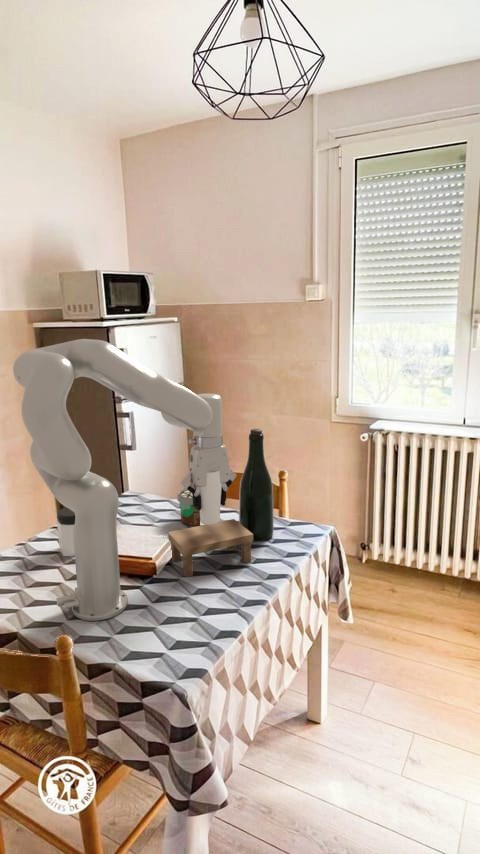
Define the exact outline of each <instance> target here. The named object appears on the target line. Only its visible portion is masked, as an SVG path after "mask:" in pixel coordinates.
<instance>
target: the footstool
mask: <svg viewBox="0 0 480 854" xmlns="http://www.w3.org/2000/svg"><path fill="white" fill-rule="evenodd" d="M167 540H168V541H169V542H170V551H171V550H172V560H171V562H172V563H174V562H175V563H178V561H179V562H182V574H183V576H184V577H185V578H188V577H193V576H194V570H193V569H194V566H193V565H194V564H193V562H194V561H193V556H194V555H200V554H203V553H207V552H211V551H215V550H216V551H217V550H220V549H225V548H228V549H229V550H235V549H237V546H238V545H240V559H241V561H242V562H243V563H244V564H245V563H249V562H251V561H252V542H254V541H253V534H252V533H251V532H250V531H249V530H247V529H246V528H245V527H243V526H242V525H241V524H240V523H239V521H238V520H236V519H235V518H232V519H226V520H222V521H221V520H220V521H219V523H217V524H215V525H205V524H200V526H197V527H188V528H183V529H178V530H172V531H169V532H167ZM181 555H182V557H181Z"/></svg>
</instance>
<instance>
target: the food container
mask: <svg viewBox="0 0 480 854" xmlns="http://www.w3.org/2000/svg"><path fill="white" fill-rule="evenodd" d="M176 498H177V501H178V502H179V511H180V519H181V523H182V525H184V526H186V527H189V528H192V527H197V526H201V521H200V510H197V509H196V508H195V507H194V506H193V494H192V493H191V492H190V491H188V490H187V489H186V488H185V487H183V488H181V489H180V490H179V491H178V494H177V497H176Z"/></svg>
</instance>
